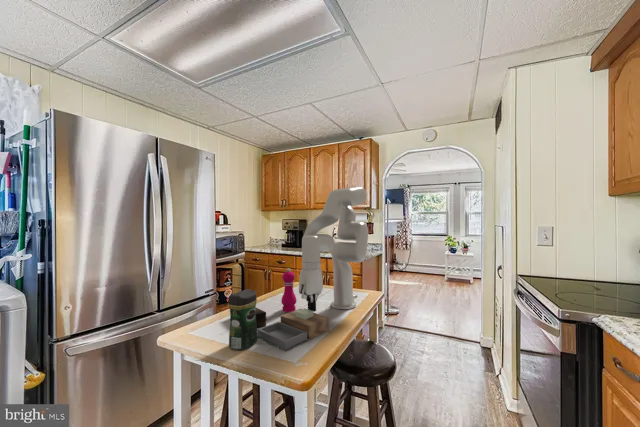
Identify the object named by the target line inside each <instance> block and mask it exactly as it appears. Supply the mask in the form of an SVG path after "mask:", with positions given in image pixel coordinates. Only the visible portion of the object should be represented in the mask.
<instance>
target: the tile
mask: <svg viewBox="0 0 640 427" xmlns="http://www.w3.org/2000/svg"><path fill="white" fill-rule="evenodd" d="M300 309H301V310H299V311H296V317H298V318H301V319H304V320H305V319H308V318H310V317H313V316H314V313H315V311H312V310H308V308H300Z"/></svg>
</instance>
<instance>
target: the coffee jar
mask: <svg viewBox="0 0 640 427" xmlns="http://www.w3.org/2000/svg"><path fill="white" fill-rule="evenodd" d="M257 299H258V298H257V293H256V291H255V290H254V289H246V288H245V289H243V290H241V291H237V292H235V293H232V294H230V295H229V296H228V305H227V306H228V309H229V312H230V315H229V316H230V317H229V318H230V320H229V335H228V347H229V348H230V349H232V350H235V351H239V350H240V351H244V350H246V349H249V348H250V347H251V346H253V345H254V344H256V343H257V341H258V340H259V338H258V336H257V325H256V308H257V307H256V305H257V302H258V300H257Z"/></svg>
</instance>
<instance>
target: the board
mask: <svg viewBox="0 0 640 427" xmlns="http://www.w3.org/2000/svg"><path fill="white" fill-rule="evenodd" d="M301 309H302V308H299V309H296V310H295V311H293V312H286V313H285V314H282V315H280V322H281V323H284V324H287V325H289V326H292V327H294V328H297V329H300V330H302V331H305V332H307V341H310V340H312V339H314V338H316V337H318V336H320V335H322V334H324V333H326V332H328V331H330V317H328V316H326V315H322V314H319V313H316V312H314V316H313V317H310V318H308V319H305V320H304V319H301V318H298V317H296V311H299V310H301Z"/></svg>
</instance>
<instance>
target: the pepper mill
mask: <svg viewBox="0 0 640 427" xmlns="http://www.w3.org/2000/svg"><path fill="white" fill-rule="evenodd" d="M281 277H282V278H281V279H282V280H283V283H282V284H283V286H284V292H283V294H282V297H281V301H280V302H281V305H283V306H282V311H283V312H284V313H290V312H293V311H295V310H297V309H296V304H297V296H296V294H295V292H294V284H295V283H294V282H295V279H296V276H295V273H294V272H293V271H291V268H290V267H289V268H286V271H285V272H284V273H283V274H282V276H281Z"/></svg>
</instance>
